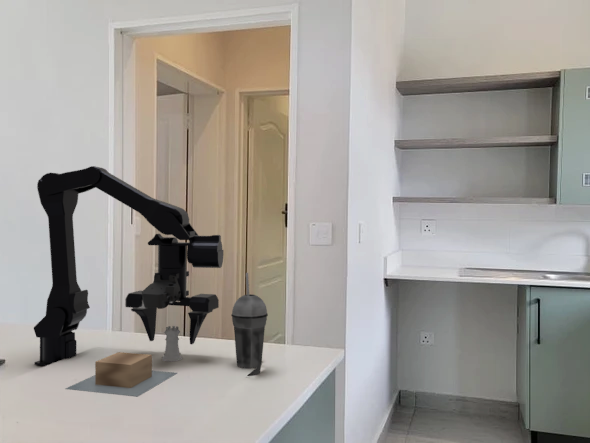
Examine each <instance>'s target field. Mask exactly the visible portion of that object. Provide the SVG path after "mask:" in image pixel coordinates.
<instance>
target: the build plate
mask: <svg viewBox="0 0 590 443" xmlns="http://www.w3.org/2000/svg"><path fill="white" fill-rule="evenodd" d="M177 374H178V372H174V371H173V372H171V371H162V370H152V377H150V378H148V379H146V380H145V381H143V382H141V383H139V384H137V385H135V386H134V387H132V388H125V387H115V386H106V385H96V384H95V374H94V375H91V376H90V377H88V378H85V379H84V380H81V381H78V382H77V383H75V384H72V385H70V386H67V387H66V388H64V389H65V390H70V391H71V390H72V391H80V392H90V393H99V394H108V395H118V396H128V397H136V398H138V397H140V396H142V395H143V394H145V393H146V392H148V391H150V390H152V389H154V388H155V387H156V386H158V385H160V384H162V383H163V382H166V381H167V380H168V379H170V378H172V377H174V376H176V375H177Z"/></svg>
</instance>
